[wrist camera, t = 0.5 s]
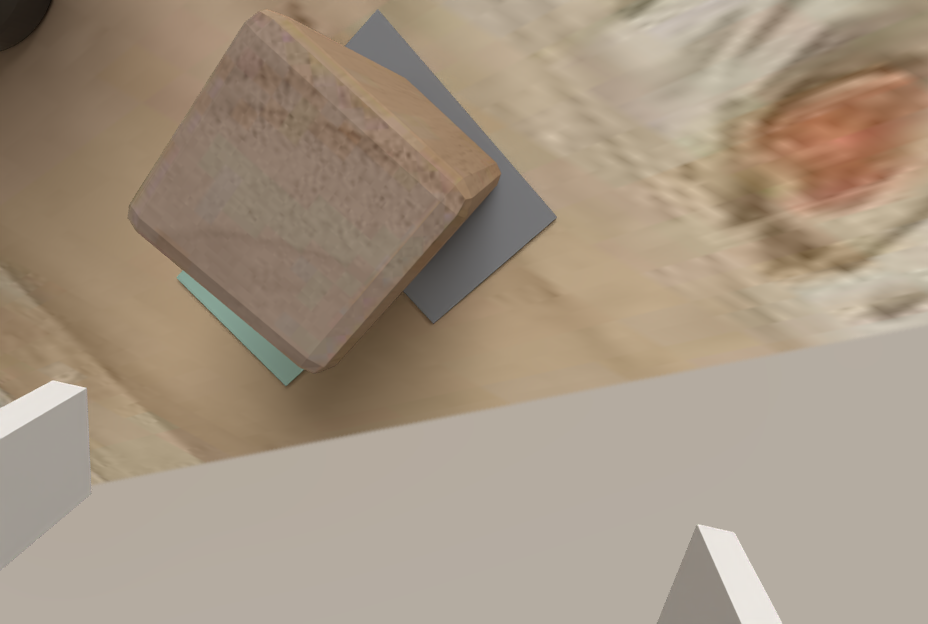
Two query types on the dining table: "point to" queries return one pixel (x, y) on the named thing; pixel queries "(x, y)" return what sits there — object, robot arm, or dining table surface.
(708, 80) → the dining table surface
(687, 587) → the robot arm
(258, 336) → the pad
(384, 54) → the mat
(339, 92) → the wooden block
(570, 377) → the dining table surface
